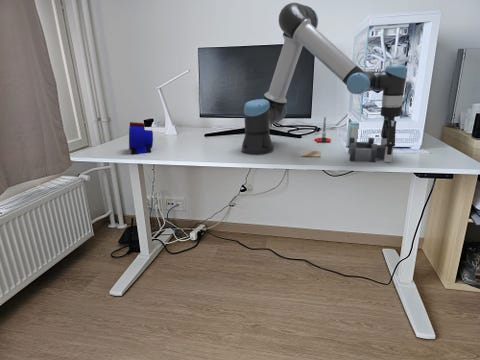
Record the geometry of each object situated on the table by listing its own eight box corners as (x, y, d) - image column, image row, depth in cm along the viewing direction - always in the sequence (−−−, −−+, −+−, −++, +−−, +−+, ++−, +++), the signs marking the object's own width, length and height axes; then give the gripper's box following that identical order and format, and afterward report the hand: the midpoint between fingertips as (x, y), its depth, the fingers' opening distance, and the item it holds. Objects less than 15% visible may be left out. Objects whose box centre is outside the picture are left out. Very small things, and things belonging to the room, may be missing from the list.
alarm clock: (129, 149, 163) (124, 120, 158) (153, 146, 167) (149, 118, 162) (130, 155, 152) (125, 124, 147) (156, 152, 156) (152, 122, 151)
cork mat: (301, 156, 139) (301, 155, 139) (303, 152, 146) (303, 150, 146) (320, 157, 137) (320, 156, 137) (321, 152, 144) (321, 151, 144)
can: (353, 144, 156) (355, 120, 152) (365, 147, 150) (367, 122, 146) (343, 146, 153) (345, 122, 149) (354, 149, 147) (356, 124, 143)
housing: (349, 160, 131) (351, 144, 128) (348, 152, 143) (349, 137, 141) (375, 162, 128) (377, 145, 126) (371, 152, 141) (373, 137, 138)
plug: (373, 159, 132) (374, 147, 131) (372, 155, 137) (373, 144, 135) (391, 159, 131) (393, 148, 129) (389, 156, 135) (390, 145, 133)
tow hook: (314, 139, 171) (315, 142, 162) (315, 115, 167) (316, 117, 158) (329, 139, 169) (332, 143, 161) (331, 115, 166) (333, 117, 157)
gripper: (408, 110, 114) (400, 166, 121) (396, 102, 136) (390, 150, 143) (386, 110, 116) (379, 165, 123) (377, 102, 138) (372, 149, 145)
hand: (385, 157), depth 133 cm, fingers open, 12 cm apart
